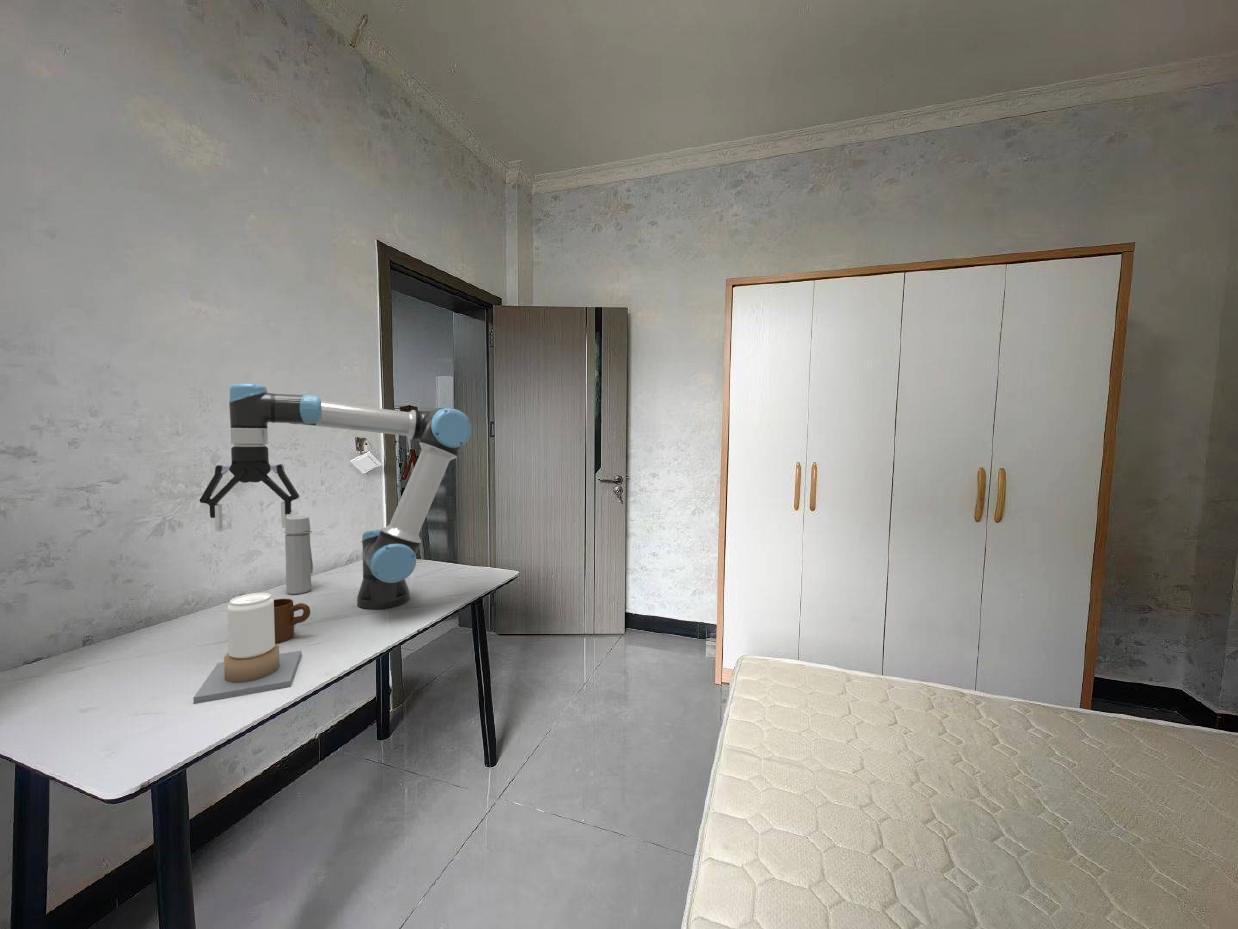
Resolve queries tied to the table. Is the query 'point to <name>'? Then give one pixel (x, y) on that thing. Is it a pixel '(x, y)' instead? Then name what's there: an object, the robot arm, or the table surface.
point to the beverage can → (250, 625)
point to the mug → (287, 618)
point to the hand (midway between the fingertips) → (252, 528)
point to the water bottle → (298, 555)
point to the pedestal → (249, 675)
